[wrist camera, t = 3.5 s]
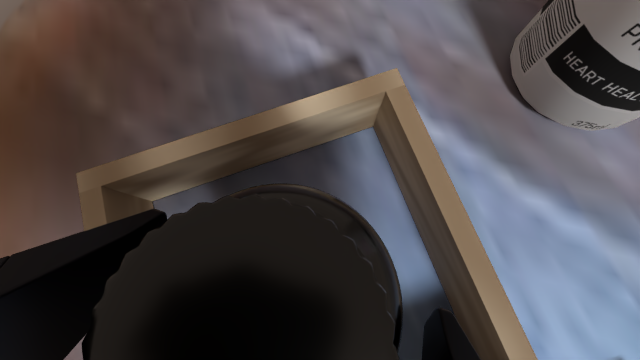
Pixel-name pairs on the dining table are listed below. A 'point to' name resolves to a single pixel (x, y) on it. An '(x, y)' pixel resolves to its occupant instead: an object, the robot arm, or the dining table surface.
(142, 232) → the robot arm
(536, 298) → the dining table surface
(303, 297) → the supplement bottle
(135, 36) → the dining table surface
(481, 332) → the crate
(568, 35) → the supplement can
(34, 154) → the dining table surface
